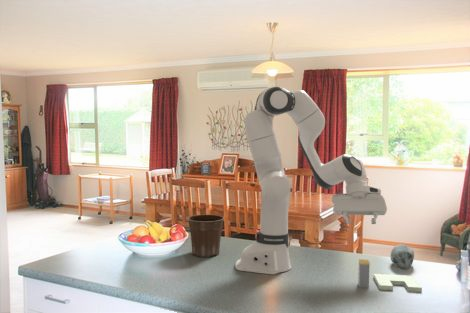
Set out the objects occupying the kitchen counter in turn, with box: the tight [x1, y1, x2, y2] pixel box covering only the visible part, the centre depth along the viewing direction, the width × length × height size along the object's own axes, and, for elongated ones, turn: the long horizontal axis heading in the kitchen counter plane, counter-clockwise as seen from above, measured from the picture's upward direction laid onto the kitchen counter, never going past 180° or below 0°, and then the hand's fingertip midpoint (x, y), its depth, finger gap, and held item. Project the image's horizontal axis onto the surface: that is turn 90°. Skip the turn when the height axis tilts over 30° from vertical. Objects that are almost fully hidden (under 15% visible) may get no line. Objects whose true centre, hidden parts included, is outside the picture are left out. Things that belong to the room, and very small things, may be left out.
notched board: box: [373, 273, 423, 293], centre depth 155 cm, size 14×12×2 cm
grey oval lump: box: [390, 243, 415, 270], centre depth 176 cm, size 14×10×10 cm
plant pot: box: [187, 214, 225, 258], centre depth 191 cm, size 16×16×16 cm
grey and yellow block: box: [357, 258, 371, 288], centre depth 153 cm, size 3×3×9 cm
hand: (361, 223), depth 165 cm, fingers open, 8 cm apart
